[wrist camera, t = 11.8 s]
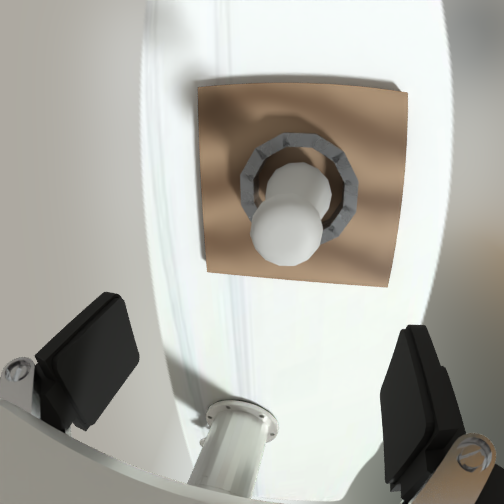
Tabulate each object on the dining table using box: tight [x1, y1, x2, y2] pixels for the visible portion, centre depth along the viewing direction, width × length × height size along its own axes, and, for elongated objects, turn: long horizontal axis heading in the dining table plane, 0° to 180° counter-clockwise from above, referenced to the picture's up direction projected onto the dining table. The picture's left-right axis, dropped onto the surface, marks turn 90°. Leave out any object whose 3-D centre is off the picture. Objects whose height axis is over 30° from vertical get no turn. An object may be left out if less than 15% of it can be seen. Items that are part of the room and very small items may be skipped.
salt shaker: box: [250, 162, 332, 266], centre depth 23 cm, size 6×6×13 cm
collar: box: [240, 132, 359, 245], centre depth 28 cm, size 10×10×2 cm
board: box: [198, 83, 408, 287], centre depth 29 cm, size 20×20×2 cm
